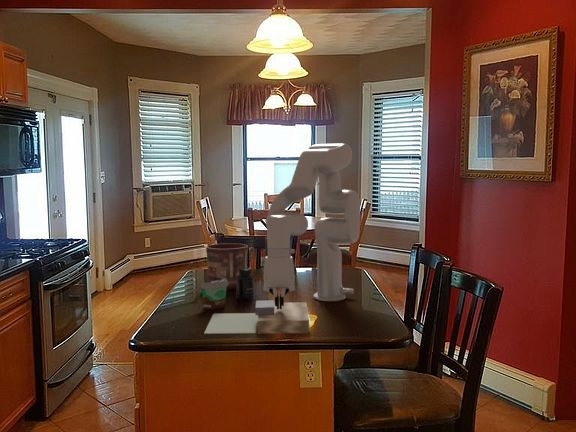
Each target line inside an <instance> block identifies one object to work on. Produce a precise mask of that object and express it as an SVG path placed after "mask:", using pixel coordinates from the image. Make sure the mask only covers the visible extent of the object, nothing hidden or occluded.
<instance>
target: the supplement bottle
mask: <svg viewBox="0 0 576 432" xmlns="http://www.w3.org/2000/svg"><path fill="white" fill-rule="evenodd" d="M239 274H240V275H238V276H237V278H236V289H235V290H236V300H239V301H247V302H248V301H251V300H254V298H255V278H254V275H253V274H252V268H251V267H247V268H240V269H239Z"/></svg>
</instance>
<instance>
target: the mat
mask: <svg viewBox="0 0 576 432" xmlns="http://www.w3.org/2000/svg"><path fill="white" fill-rule="evenodd" d="M257 320H258V315H256V312H253V313H252V312H249V313H248V312H247V313H246V312H244V313H243V312H242V313H240V312H238V313H237V312H236V313H231V312H230V313H229V312H228V313H213V314H212V316H211V318H210V320H209V321H208V324H207V326H206V329H205V330H204V333H203V334H204V335H235V334H236V335H239V334H241V335H243V334H246V335H247V334H249V335H252V334H253V335H255V334H257V331H258V329H257Z"/></svg>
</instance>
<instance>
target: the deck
mask: <svg viewBox="0 0 576 432" xmlns="http://www.w3.org/2000/svg"><path fill="white" fill-rule="evenodd" d="M257 334H258V335H259V334H260V335H261V334H310V317H309V311H308V306H307V302H306V301H305V302H304V301H303V302H298V301H297V302H284V306H282V309H280V302H279V309H277V306H275V302H274V315H258V320H257Z"/></svg>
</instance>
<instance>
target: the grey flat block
mask: <svg viewBox="0 0 576 432" xmlns="http://www.w3.org/2000/svg"><path fill="white" fill-rule="evenodd" d="M274 303H275V299H274V300H273V299H272V300H271V299H270V300H269V299H268V300H255V307H254V308H255V309H254V310H255V313H256V315H274Z"/></svg>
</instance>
